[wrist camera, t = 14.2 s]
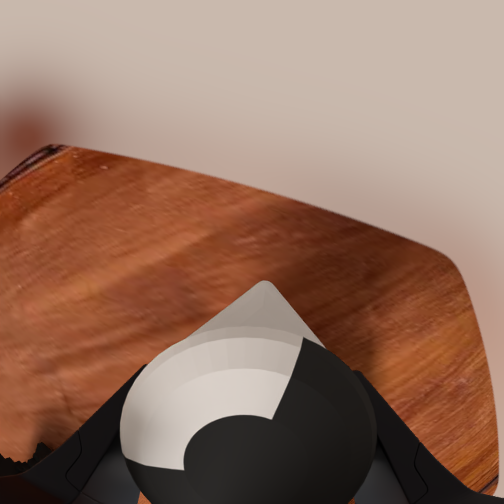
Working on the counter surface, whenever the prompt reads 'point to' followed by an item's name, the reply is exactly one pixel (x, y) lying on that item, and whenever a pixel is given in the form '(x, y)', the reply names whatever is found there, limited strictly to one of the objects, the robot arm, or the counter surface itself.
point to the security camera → (9, 467)
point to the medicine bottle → (249, 414)
